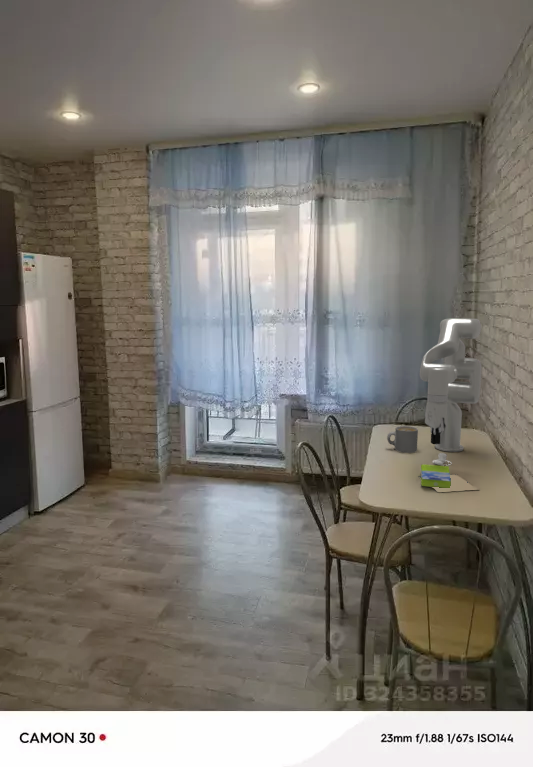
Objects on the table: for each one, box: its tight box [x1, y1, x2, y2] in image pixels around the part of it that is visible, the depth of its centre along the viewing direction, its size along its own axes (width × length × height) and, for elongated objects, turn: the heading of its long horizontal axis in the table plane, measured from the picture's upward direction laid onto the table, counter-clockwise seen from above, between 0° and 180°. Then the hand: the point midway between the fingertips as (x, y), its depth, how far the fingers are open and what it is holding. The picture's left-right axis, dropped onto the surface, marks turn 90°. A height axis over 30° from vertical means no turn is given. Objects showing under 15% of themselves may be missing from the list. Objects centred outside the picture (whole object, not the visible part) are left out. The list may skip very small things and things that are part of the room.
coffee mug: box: [386, 425, 419, 454], centre depth 241 cm, size 13×10×10 cm
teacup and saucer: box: [432, 452, 453, 466], centre depth 221 cm, size 9×8×4 cm
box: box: [420, 464, 451, 488], centre depth 198 cm, size 10×4×17 cm
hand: (435, 443), depth 207 cm, fingers closed
